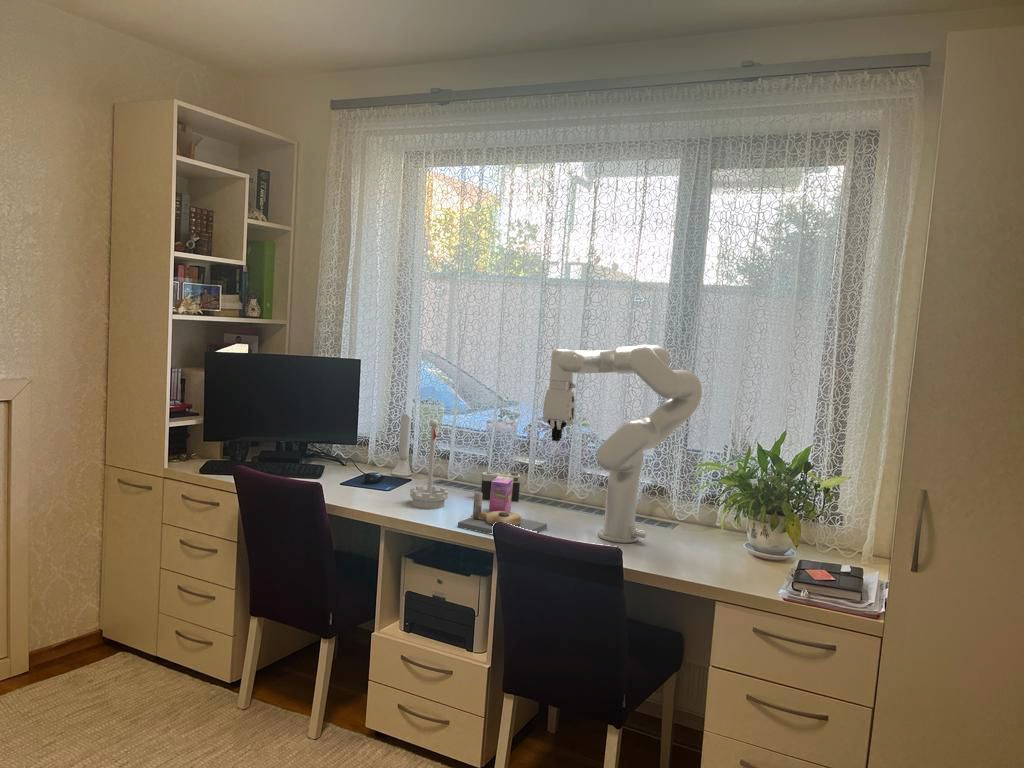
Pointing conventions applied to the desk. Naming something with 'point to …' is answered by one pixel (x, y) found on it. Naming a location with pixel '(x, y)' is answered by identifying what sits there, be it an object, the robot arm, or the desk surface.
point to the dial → (493, 513)
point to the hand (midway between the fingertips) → (556, 440)
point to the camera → (490, 476)
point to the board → (487, 527)
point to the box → (501, 494)
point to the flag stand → (429, 482)
